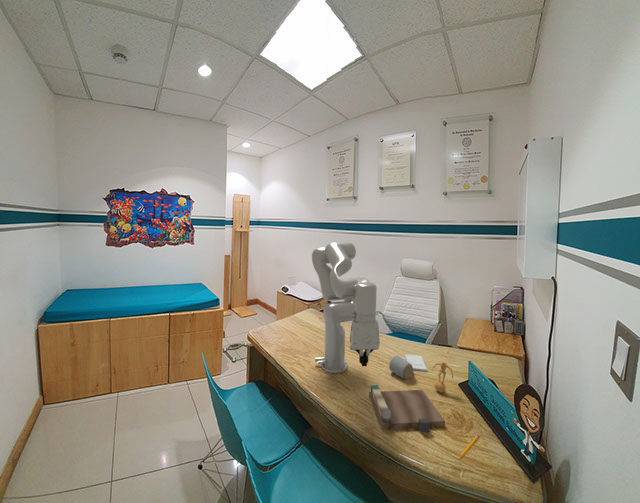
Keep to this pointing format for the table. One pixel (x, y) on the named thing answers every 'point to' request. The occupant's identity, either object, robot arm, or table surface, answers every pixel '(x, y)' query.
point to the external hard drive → (416, 362)
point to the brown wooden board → (407, 409)
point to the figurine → (440, 385)
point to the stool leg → (381, 404)
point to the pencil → (469, 446)
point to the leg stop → (423, 425)
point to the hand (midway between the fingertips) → (363, 364)
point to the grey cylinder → (401, 367)
